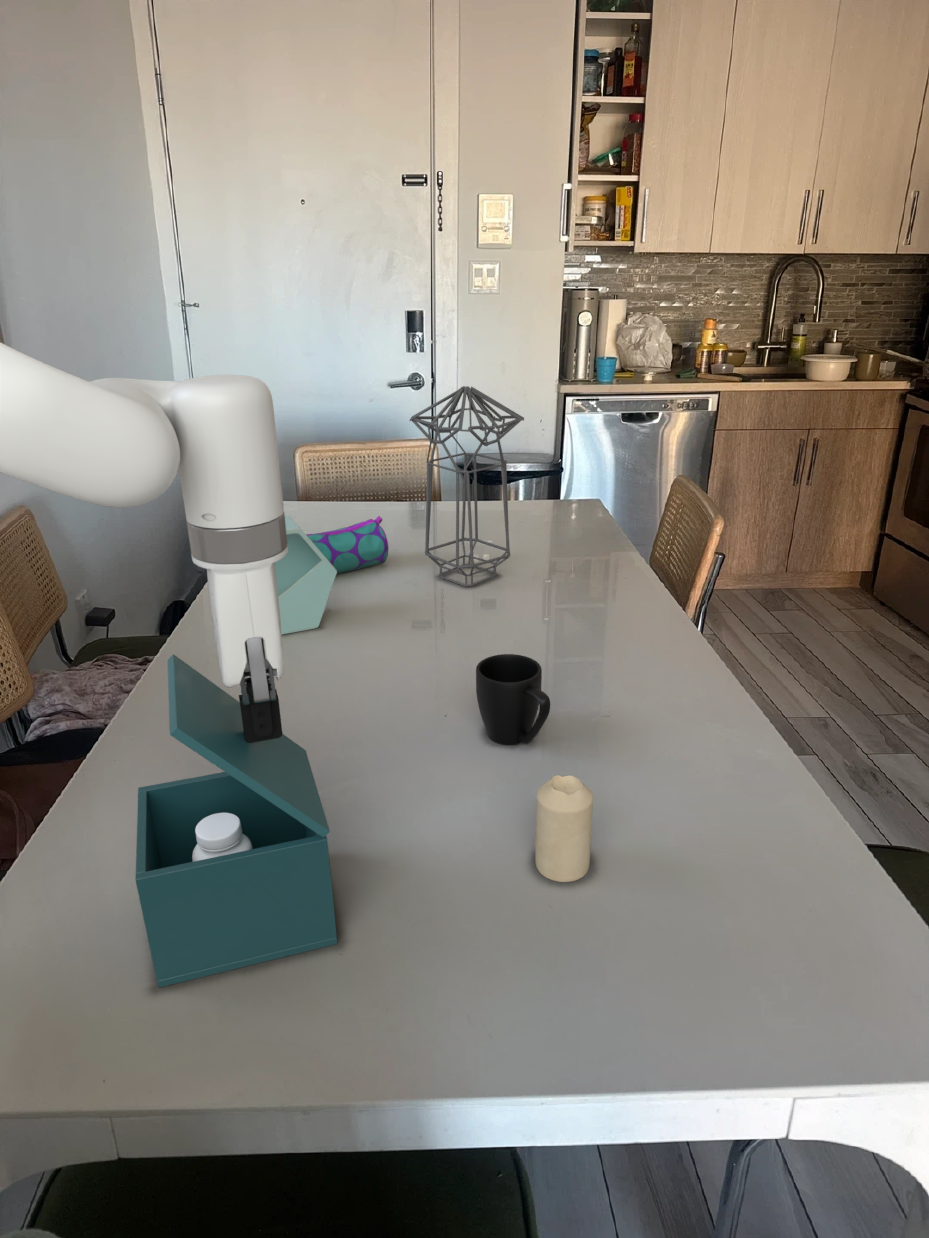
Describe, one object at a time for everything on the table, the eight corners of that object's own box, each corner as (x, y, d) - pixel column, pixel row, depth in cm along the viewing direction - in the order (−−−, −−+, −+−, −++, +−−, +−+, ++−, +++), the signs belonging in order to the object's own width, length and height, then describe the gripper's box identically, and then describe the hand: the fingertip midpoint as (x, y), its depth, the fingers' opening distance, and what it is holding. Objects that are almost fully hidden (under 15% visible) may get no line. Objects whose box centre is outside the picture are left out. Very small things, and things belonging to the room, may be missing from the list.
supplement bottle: (243, 882, 86) (230, 800, 82) (271, 910, 82) (260, 825, 78) (192, 909, 83) (176, 824, 79) (219, 939, 79) (205, 852, 75)
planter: (278, 661, 143) (192, 573, 132) (268, 642, 149) (185, 558, 138) (357, 594, 144) (278, 502, 133) (344, 578, 151) (267, 490, 139)
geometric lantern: (410, 576, 165) (402, 387, 151) (471, 556, 174) (469, 377, 160) (466, 598, 154) (463, 397, 140) (528, 576, 164) (531, 386, 150)
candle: (557, 890, 85) (560, 805, 81) (524, 859, 90) (525, 777, 86) (600, 869, 88) (605, 787, 84) (566, 840, 92) (570, 760, 88)
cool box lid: (169, 734, 66) (176, 727, 66) (167, 659, 78) (173, 653, 78) (323, 837, 74) (330, 831, 74) (300, 755, 86) (305, 750, 86)
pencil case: (286, 589, 160) (281, 539, 156) (273, 574, 167) (268, 526, 163) (391, 569, 168) (389, 522, 164) (375, 556, 175) (372, 510, 171)
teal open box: (158, 988, 75) (135, 879, 70) (157, 886, 87) (138, 787, 82) (337, 943, 79) (327, 839, 75) (313, 852, 91) (303, 756, 86)
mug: (514, 772, 104) (515, 703, 100) (464, 728, 114) (463, 663, 110) (570, 753, 108) (573, 685, 104) (517, 711, 117) (518, 648, 114)
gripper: (186, 516, 75) (214, 703, 82) (193, 574, 62) (225, 791, 69) (274, 507, 77) (294, 690, 84) (299, 562, 64) (319, 773, 71)
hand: (263, 735), depth 77 cm, fingers closed
